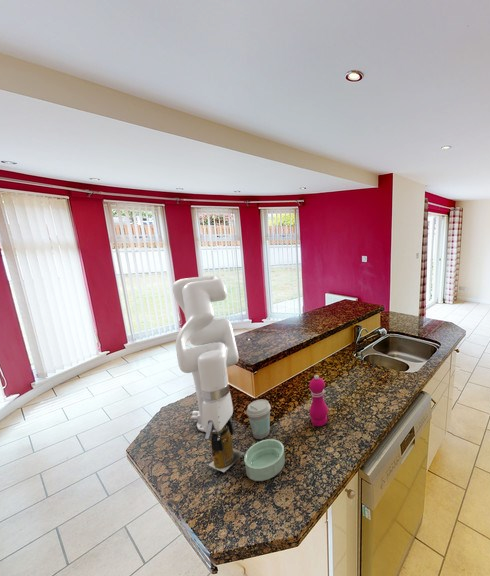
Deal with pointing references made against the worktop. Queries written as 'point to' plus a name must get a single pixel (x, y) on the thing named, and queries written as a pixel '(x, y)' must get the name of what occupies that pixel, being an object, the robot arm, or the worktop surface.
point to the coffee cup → (259, 418)
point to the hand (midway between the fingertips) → (223, 441)
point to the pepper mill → (318, 402)
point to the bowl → (264, 459)
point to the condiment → (225, 452)
